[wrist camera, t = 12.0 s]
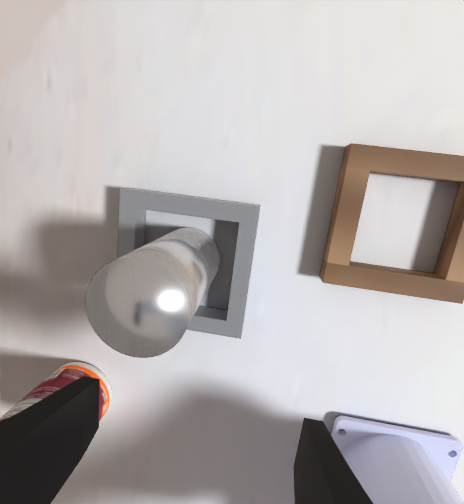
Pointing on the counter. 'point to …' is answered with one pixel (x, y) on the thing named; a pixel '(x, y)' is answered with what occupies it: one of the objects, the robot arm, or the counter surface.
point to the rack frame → (247, 215)
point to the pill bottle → (60, 380)
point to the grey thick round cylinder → (152, 292)
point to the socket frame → (348, 213)
